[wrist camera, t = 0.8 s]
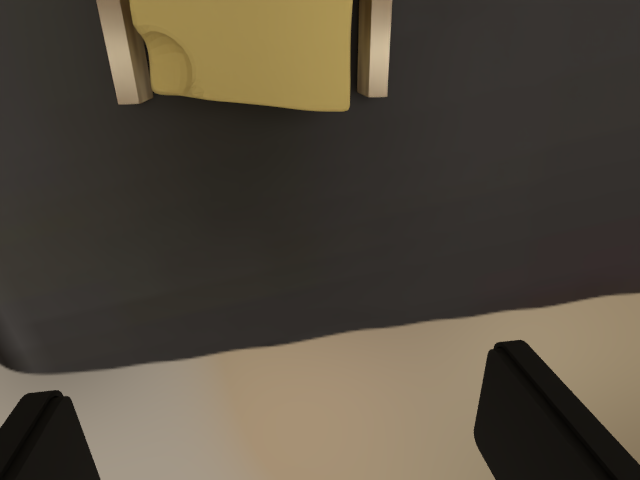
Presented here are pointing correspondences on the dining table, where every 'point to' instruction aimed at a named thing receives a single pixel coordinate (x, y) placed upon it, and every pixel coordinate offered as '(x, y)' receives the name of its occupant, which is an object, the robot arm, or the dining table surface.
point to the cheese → (249, 50)
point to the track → (133, 66)
